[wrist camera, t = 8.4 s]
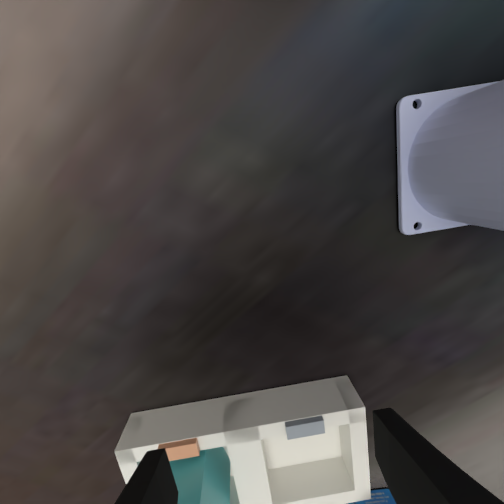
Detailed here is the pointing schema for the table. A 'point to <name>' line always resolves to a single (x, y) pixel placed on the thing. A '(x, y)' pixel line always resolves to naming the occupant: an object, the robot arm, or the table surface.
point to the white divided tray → (267, 441)
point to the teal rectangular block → (203, 477)
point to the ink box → (378, 497)
